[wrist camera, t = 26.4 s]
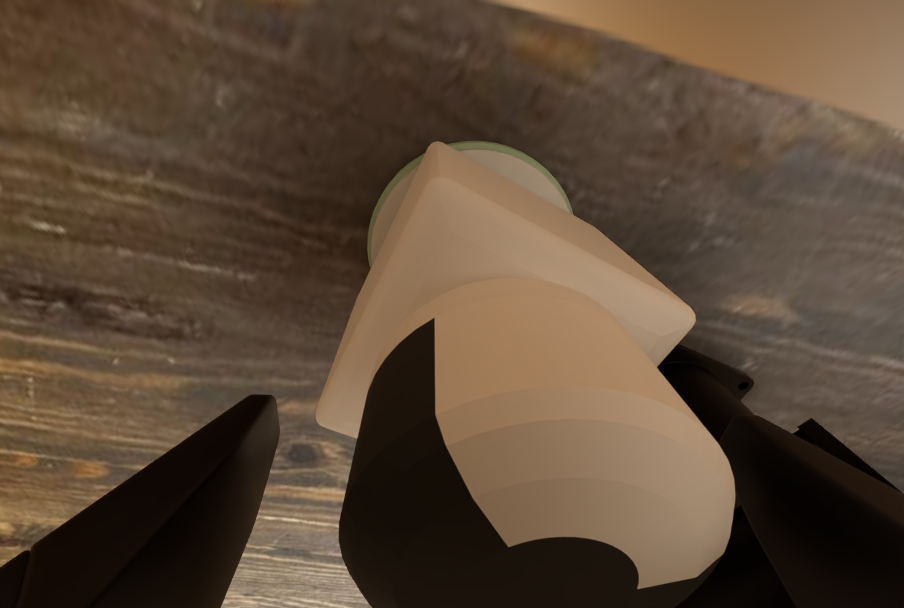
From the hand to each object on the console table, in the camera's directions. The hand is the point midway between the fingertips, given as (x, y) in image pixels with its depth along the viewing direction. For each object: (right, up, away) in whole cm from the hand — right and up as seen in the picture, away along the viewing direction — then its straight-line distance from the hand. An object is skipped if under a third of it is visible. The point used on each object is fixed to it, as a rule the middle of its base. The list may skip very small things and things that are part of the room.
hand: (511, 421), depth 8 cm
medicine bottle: (0, +4, +9) cm, 9 cm away
